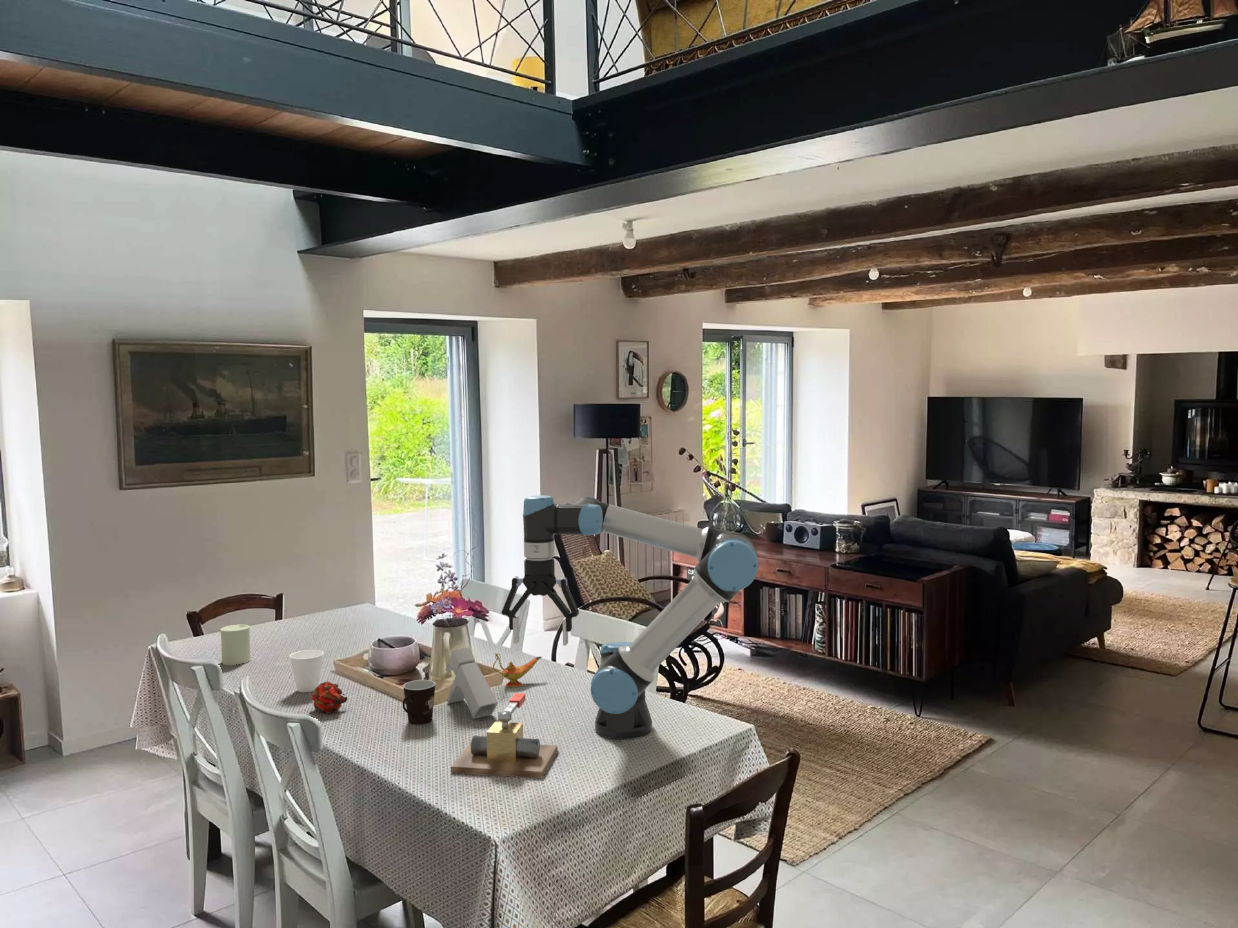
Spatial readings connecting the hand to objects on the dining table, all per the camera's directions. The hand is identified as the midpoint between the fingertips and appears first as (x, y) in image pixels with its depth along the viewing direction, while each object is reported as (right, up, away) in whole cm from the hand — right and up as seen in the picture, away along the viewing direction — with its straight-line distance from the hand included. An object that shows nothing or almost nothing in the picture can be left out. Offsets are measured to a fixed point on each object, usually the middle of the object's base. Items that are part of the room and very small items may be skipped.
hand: (540, 643), depth 228 cm
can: (-109, -22, +79) cm, 137 cm away
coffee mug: (-36, -25, +20) cm, 48 cm away
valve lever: (-7, -16, -2) cm, 18 cm away
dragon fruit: (-63, -25, +30) cm, 74 cm away
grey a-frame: (-22, -25, +29) cm, 44 cm away
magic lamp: (-11, -23, +52) cm, 58 cm away
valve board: (-8, -27, -8) cm, 29 cm away
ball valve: (-8, -26, -8) cm, 28 cm away
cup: (-75, -24, +48) cm, 92 cm away
